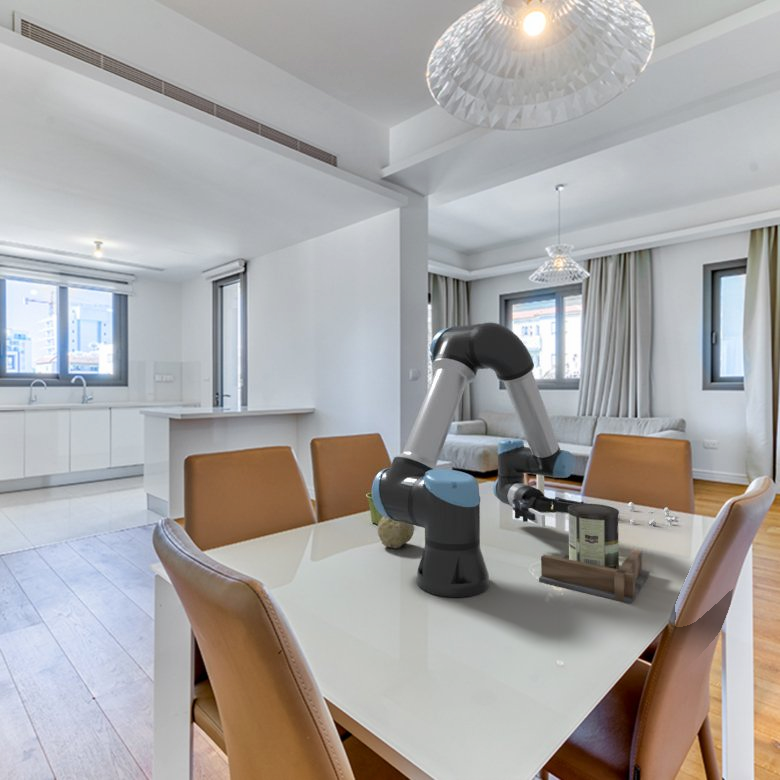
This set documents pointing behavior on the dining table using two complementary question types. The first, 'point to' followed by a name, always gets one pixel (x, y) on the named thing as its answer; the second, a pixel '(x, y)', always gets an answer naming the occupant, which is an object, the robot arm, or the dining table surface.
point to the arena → (596, 576)
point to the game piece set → (633, 521)
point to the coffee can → (594, 534)
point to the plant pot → (373, 510)
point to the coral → (394, 532)
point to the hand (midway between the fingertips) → (570, 518)
